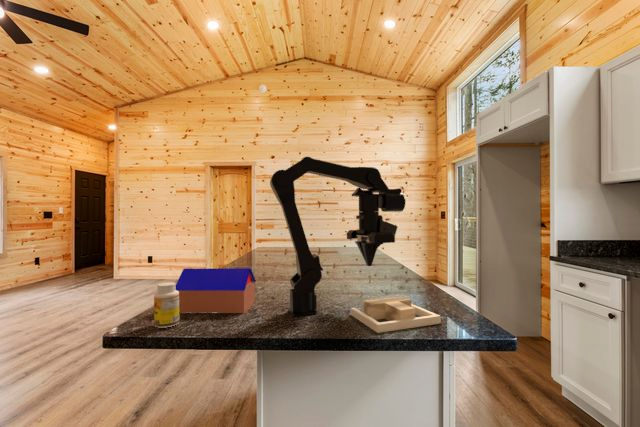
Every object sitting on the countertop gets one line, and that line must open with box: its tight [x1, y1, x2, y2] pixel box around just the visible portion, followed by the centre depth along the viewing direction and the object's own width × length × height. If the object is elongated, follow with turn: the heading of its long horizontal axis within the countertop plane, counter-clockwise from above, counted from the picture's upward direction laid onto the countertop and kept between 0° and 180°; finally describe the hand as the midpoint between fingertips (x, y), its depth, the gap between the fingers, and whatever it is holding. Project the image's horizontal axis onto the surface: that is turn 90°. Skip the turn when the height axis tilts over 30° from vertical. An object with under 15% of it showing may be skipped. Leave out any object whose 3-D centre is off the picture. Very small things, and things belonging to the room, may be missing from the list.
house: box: [175, 267, 257, 314], centre depth 93 cm, size 12×20×12 cm, turn 87°
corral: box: [350, 303, 442, 334], centre depth 81 cm, size 17×14×2 cm
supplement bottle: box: [153, 281, 180, 329], centre depth 78 cm, size 6×6×10 cm
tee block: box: [363, 296, 416, 321], centre depth 81 cm, size 11×12×4 cm
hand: (369, 265), depth 92 cm, fingers closed
